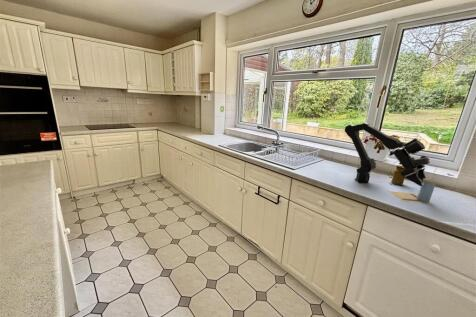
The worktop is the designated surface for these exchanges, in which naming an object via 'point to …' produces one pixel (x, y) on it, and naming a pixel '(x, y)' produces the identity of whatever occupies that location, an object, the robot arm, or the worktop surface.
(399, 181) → the condiment
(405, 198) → the card
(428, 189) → the canister
